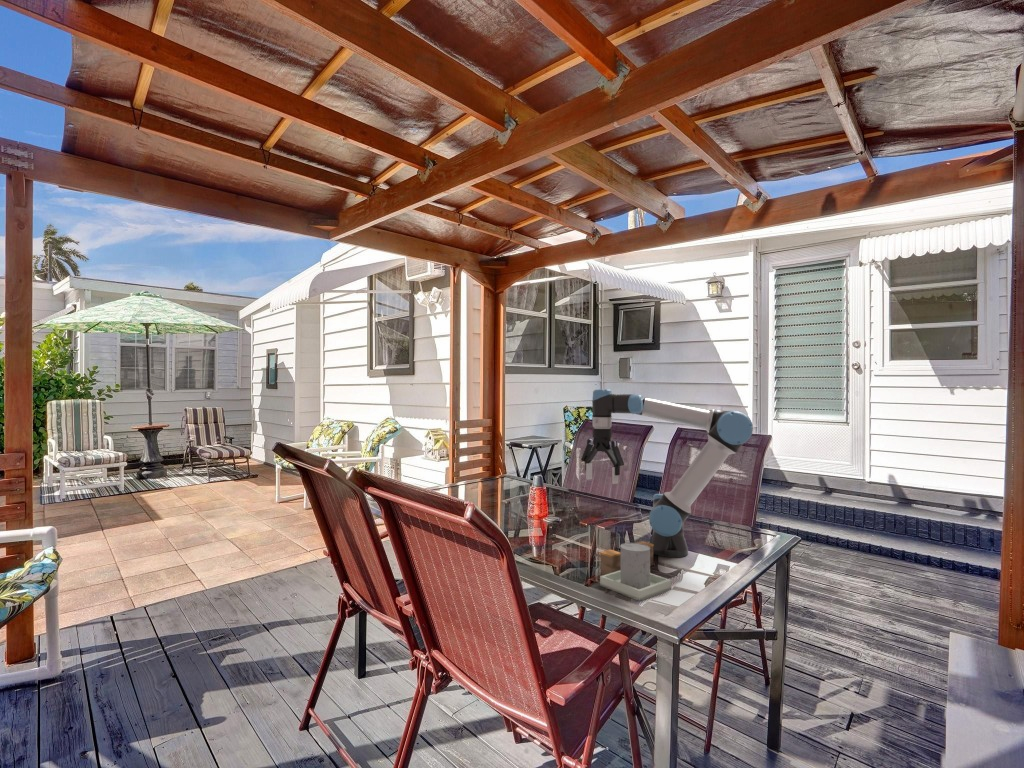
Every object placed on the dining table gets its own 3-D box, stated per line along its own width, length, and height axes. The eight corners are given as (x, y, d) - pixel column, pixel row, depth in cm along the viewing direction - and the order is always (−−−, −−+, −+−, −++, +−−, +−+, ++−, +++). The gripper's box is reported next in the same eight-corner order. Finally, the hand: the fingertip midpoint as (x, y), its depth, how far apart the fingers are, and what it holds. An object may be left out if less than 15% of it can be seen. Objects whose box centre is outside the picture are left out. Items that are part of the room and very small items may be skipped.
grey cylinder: (645, 579, 167) (645, 542, 168) (654, 590, 158) (654, 551, 158) (617, 579, 167) (617, 542, 167) (624, 590, 157) (624, 551, 158)
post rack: (642, 561, 189) (642, 541, 189) (653, 565, 185) (653, 544, 185) (600, 573, 175) (600, 552, 175) (611, 578, 171) (611, 555, 171)
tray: (631, 575, 174) (631, 566, 174) (671, 589, 161) (671, 580, 161) (600, 585, 164) (600, 576, 164) (639, 601, 151) (639, 591, 151)
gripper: (572, 426, 207) (572, 478, 206) (620, 429, 187) (620, 486, 186) (585, 426, 211) (585, 476, 211) (633, 429, 192) (633, 484, 191)
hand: (601, 481), depth 198 cm, fingers open, 13 cm apart
